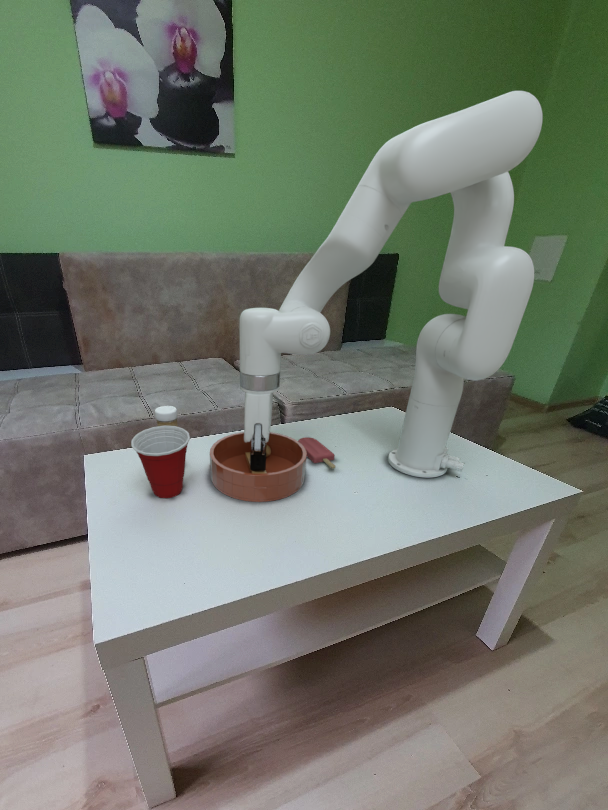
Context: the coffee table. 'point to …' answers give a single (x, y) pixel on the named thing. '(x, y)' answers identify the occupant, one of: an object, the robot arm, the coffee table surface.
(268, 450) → the bead
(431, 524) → the coffee table surface
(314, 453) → the popsicle
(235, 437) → the bowl
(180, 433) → the plastic cup
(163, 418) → the sprinkles bottle
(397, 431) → the coffee table surface
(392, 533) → the coffee table surface
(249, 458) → the stirrer
